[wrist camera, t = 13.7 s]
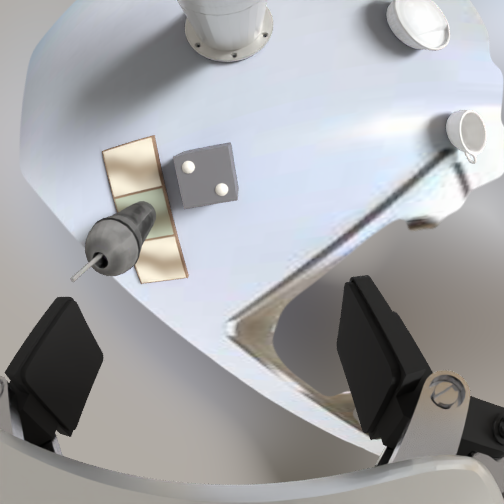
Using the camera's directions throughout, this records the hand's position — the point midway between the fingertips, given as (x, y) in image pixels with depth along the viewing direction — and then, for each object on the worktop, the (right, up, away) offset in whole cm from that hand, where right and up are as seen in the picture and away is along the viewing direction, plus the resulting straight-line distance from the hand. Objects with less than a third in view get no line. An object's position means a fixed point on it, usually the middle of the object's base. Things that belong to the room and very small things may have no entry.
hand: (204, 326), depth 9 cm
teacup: (+39, +24, +29) cm, 54 cm away
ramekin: (+28, +40, +20) cm, 53 cm away
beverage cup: (-16, +8, +33) cm, 38 cm away
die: (-4, +15, +31) cm, 35 cm away
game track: (-16, +8, +34) cm, 38 cm away
